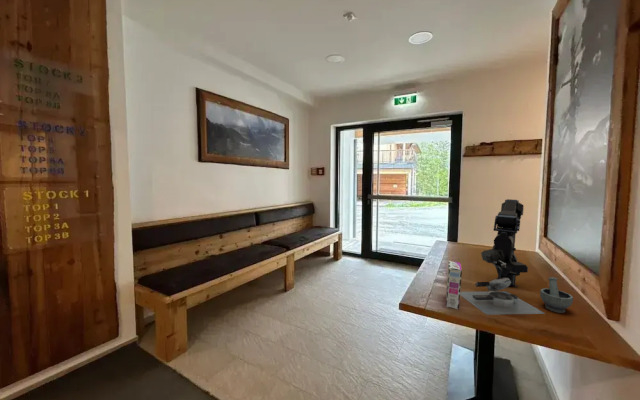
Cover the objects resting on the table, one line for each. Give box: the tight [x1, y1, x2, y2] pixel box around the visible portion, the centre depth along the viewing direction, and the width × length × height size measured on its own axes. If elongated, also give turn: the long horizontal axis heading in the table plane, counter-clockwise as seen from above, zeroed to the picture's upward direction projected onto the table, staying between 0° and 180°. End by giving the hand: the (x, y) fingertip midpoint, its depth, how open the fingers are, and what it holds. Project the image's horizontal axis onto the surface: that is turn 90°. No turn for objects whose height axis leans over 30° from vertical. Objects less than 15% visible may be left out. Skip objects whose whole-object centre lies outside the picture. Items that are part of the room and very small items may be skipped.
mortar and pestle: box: [539, 276, 574, 314], centre depth 107 cm, size 11×9×12 cm
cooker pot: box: [473, 290, 519, 308], centre depth 111 cm, size 18×9×3 cm, turn 94°
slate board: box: [460, 290, 546, 316], centre depth 112 cm, size 24×20×1 cm
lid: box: [474, 277, 511, 291], centre depth 112 cm, size 14×9×2 cm
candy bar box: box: [445, 260, 463, 310], centre depth 110 cm, size 11×5×16 cm, turn 155°
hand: (501, 280), depth 111 cm, fingers closed, pressing on lid
